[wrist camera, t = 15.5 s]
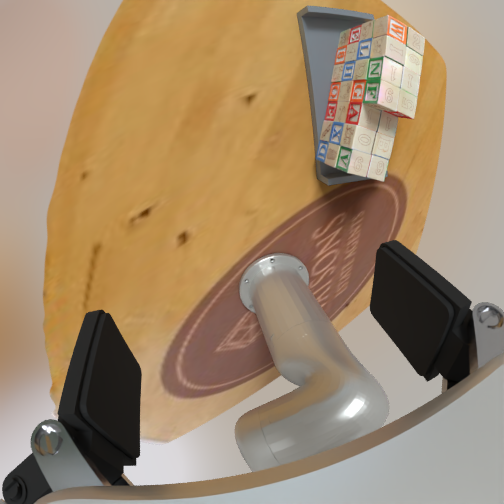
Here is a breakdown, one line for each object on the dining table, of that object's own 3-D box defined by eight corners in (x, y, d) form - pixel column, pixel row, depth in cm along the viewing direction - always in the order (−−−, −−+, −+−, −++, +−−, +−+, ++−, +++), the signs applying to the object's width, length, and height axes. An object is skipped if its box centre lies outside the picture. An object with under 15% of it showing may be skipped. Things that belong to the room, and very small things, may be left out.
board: (373, 170, 45) (387, 176, 41) (317, 178, 43) (328, 185, 40) (359, 19, 31) (373, 14, 28) (296, 13, 30) (307, 5, 27)
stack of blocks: (348, 167, 42) (397, 189, 31) (314, 159, 40) (358, 179, 29) (373, 45, 33) (426, 37, 22) (339, 30, 31) (389, 13, 20)
